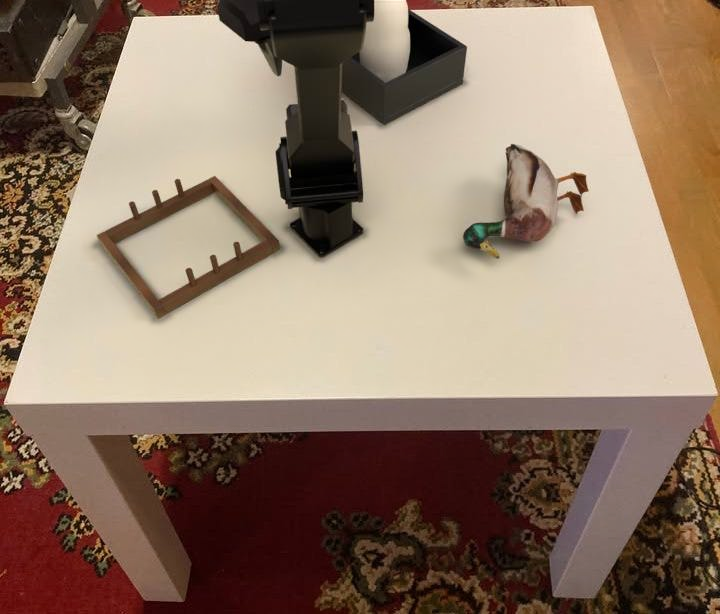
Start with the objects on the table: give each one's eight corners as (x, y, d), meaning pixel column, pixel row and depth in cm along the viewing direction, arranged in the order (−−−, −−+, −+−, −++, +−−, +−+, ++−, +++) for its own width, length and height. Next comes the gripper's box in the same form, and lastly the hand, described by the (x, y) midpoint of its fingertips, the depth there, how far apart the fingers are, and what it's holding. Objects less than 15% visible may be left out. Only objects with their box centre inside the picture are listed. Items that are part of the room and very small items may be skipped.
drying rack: (280, 249, 83) (276, 225, 80) (158, 318, 77) (149, 296, 74) (217, 184, 90) (211, 160, 87) (100, 244, 84) (89, 220, 81)
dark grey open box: (462, 84, 102) (467, 46, 97) (384, 125, 97) (384, 87, 92) (388, 33, 110) (389, -4, 105) (311, 69, 105) (308, 31, 100)
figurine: (410, 57, 104) (413, -23, 95) (407, 89, 100) (411, 8, 90) (361, 55, 105) (360, -25, 95) (356, 87, 100) (355, 6, 91)
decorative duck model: (479, 243, 75) (424, 150, 83) (476, 284, 81) (425, 194, 89) (608, 199, 77) (542, 111, 85) (595, 242, 83) (535, 157, 91)
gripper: (325, -130, 79) (331, 3, 91) (176, -79, 72) (205, 58, 84) (390, -95, 73) (387, 42, 86) (236, -36, 67) (257, 103, 79)
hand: (309, 59), depth 84 cm, fingers open, 9 cm apart
